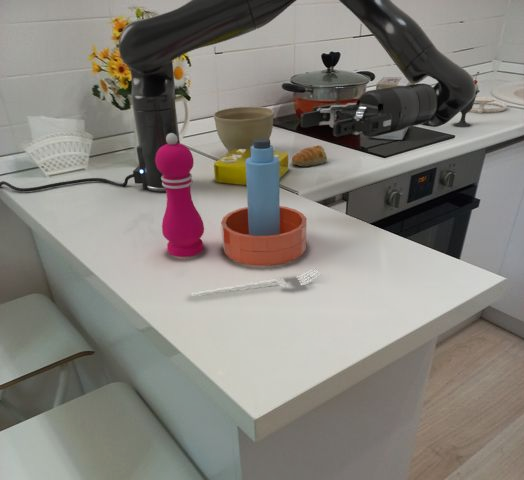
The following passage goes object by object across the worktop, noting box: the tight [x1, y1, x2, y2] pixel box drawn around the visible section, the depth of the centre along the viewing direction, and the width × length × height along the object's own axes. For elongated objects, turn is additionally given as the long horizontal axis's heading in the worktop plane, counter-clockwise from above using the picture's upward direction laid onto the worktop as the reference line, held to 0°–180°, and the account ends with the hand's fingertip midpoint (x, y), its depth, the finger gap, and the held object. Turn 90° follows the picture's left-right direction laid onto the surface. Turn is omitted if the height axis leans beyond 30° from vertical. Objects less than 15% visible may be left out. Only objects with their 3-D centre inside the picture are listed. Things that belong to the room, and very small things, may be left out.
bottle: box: [246, 138, 281, 236], centre depth 83 cm, size 5×5×18 cm
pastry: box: [291, 144, 328, 168], centre depth 130 cm, size 9×7×4 cm
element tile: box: [213, 149, 289, 186], centre depth 122 cm, size 15×15×5 cm
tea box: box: [369, 76, 413, 141], centre depth 150 cm, size 15×10×15 cm
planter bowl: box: [213, 106, 275, 153], centre depth 136 cm, size 16×16×11 cm
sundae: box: [453, 71, 481, 128], centre depth 156 cm, size 7×7×15 cm
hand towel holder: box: [469, 96, 508, 114], centre depth 178 cm, size 17×4×21 cm
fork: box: [191, 267, 321, 297], centre depth 77 cm, size 3×20×2 cm, turn 103°
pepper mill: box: [156, 133, 205, 258], centre depth 83 cm, size 7×7×20 cm
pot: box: [220, 205, 308, 267], centre depth 87 cm, size 15×15×6 cm
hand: (317, 125), depth 83 cm, fingers open, 8 cm apart
